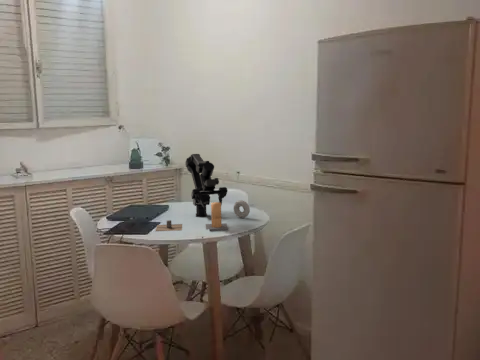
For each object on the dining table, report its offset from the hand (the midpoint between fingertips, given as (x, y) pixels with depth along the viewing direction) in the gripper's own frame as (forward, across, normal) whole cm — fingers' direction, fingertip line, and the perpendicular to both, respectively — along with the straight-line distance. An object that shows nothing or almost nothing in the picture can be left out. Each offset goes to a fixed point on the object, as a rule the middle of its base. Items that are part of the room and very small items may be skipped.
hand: (212, 206), depth 258 cm
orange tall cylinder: (+11, 0, +1) cm, 11 cm away
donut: (0, +19, +14) cm, 24 cm away
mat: (+12, 0, +2) cm, 12 cm away
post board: (+8, -23, +6) cm, 25 cm away
